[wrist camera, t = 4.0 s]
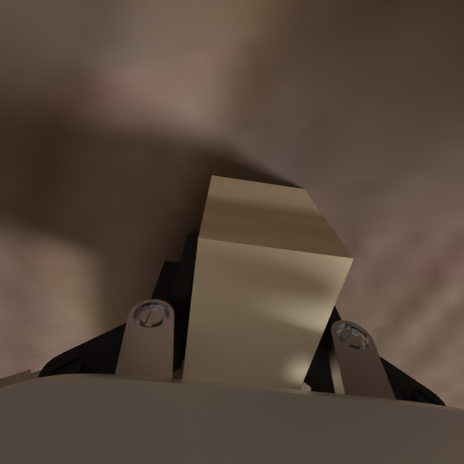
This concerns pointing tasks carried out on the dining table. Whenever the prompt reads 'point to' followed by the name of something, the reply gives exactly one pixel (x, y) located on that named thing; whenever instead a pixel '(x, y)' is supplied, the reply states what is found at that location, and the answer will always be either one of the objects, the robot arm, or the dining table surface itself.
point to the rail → (261, 285)
